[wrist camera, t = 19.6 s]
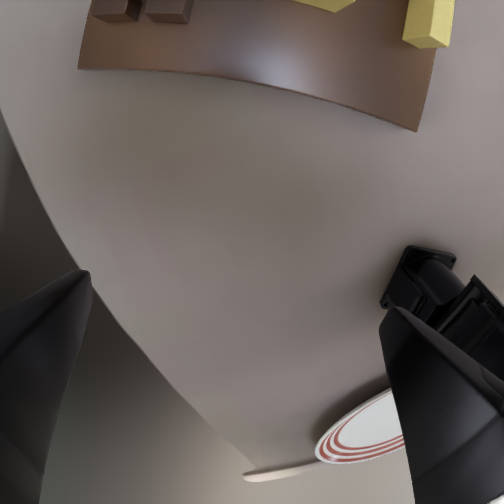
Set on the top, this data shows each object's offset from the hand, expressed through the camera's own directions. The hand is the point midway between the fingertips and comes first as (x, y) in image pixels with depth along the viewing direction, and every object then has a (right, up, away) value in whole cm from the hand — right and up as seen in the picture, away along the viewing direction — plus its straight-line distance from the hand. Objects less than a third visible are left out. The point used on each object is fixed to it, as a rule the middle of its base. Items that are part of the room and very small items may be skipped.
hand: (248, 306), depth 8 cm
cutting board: (+2, +18, +4) cm, 19 cm away
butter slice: (+11, +17, +5) cm, 20 cm away
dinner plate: (+22, -23, +31) cm, 44 cm away
